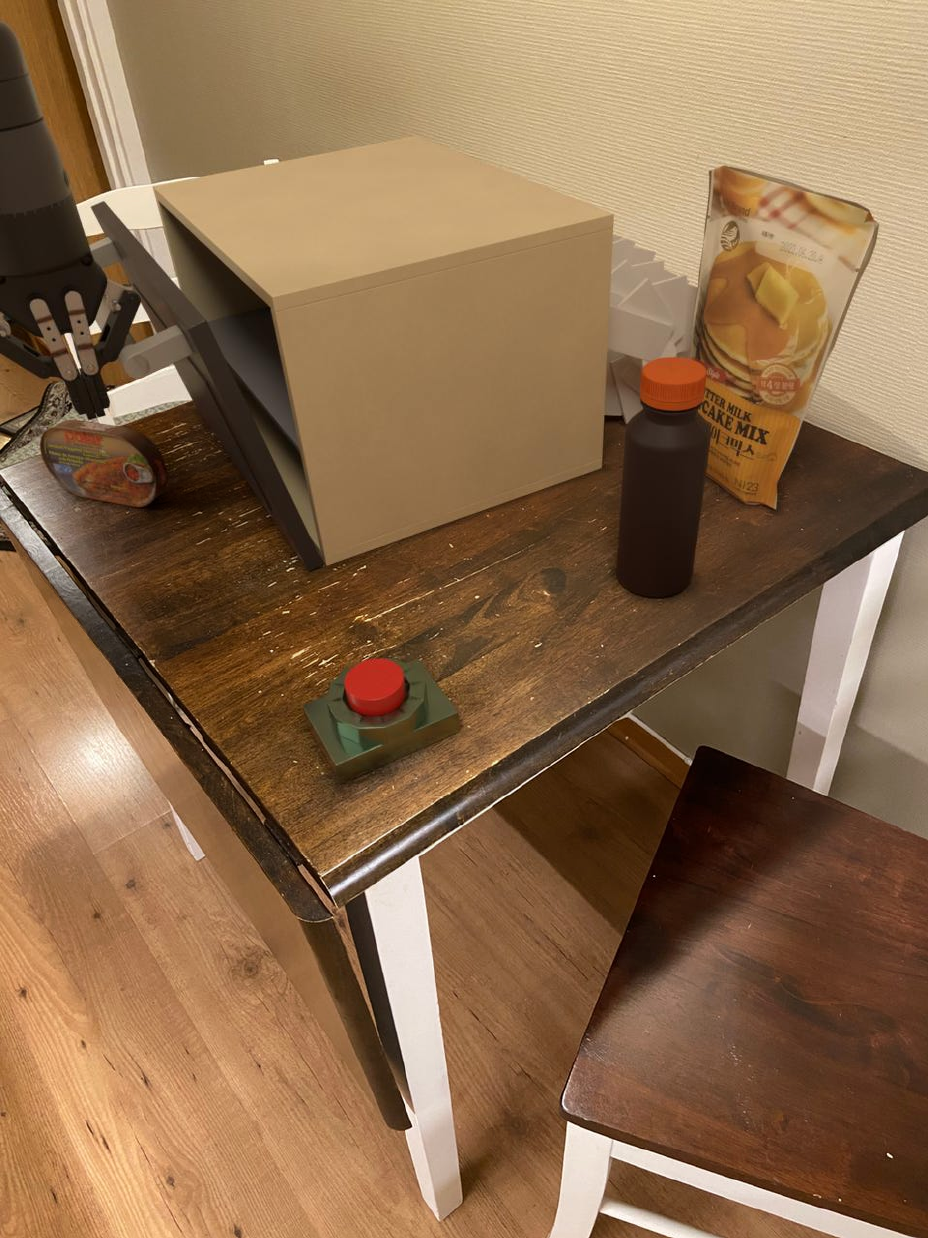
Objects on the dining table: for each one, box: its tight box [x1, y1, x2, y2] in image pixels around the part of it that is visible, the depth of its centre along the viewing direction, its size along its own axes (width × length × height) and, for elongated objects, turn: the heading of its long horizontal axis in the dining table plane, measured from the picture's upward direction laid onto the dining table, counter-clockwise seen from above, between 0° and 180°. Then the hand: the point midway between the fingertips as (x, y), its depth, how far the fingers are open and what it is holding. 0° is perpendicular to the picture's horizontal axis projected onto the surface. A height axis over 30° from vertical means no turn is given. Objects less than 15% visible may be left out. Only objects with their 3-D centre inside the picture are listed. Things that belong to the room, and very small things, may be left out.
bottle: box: [615, 357, 711, 598], centre depth 74 cm, size 7×7×20 cm
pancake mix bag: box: [691, 165, 880, 510], centre depth 84 cm, size 7×19×28 cm, turn 24°
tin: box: [39, 419, 169, 508], centre depth 94 cm, size 15×3×8 cm, turn 68°
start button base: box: [301, 657, 461, 785], centre depth 67 cm, size 10×7×4 cm
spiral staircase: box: [604, 233, 698, 425], centre depth 103 cm, size 18×18×25 cm
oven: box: [152, 135, 615, 567], centre depth 95 cm, size 32×40×26 cm
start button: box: [344, 658, 406, 716], centre depth 65 cm, size 4×4×2 cm
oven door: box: [89, 200, 324, 573], centre depth 88 cm, size 7×40×26 cm, turn 28°
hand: (95, 414), depth 74 cm, fingers closed
